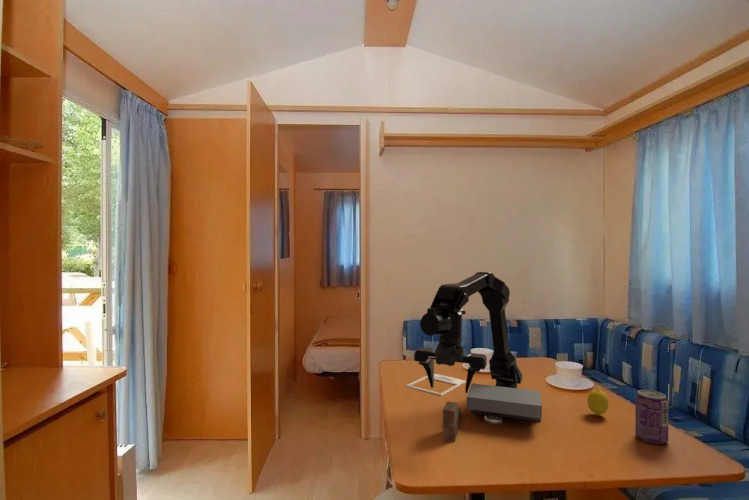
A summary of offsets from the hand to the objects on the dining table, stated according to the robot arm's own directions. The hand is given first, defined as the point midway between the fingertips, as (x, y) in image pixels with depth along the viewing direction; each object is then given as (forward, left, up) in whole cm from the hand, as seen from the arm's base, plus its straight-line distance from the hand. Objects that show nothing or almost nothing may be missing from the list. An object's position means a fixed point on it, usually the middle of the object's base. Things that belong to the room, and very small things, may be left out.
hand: (449, 390), depth 109 cm
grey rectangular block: (-20, -1, -12) cm, 24 cm away
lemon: (-47, +9, -12) cm, 50 cm away
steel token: (-17, -2, -12) cm, 21 cm away
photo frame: (-19, -35, -13) cm, 42 cm away
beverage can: (-46, +25, -12) cm, 54 cm away
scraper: (-4, -4, -12) cm, 13 cm away
